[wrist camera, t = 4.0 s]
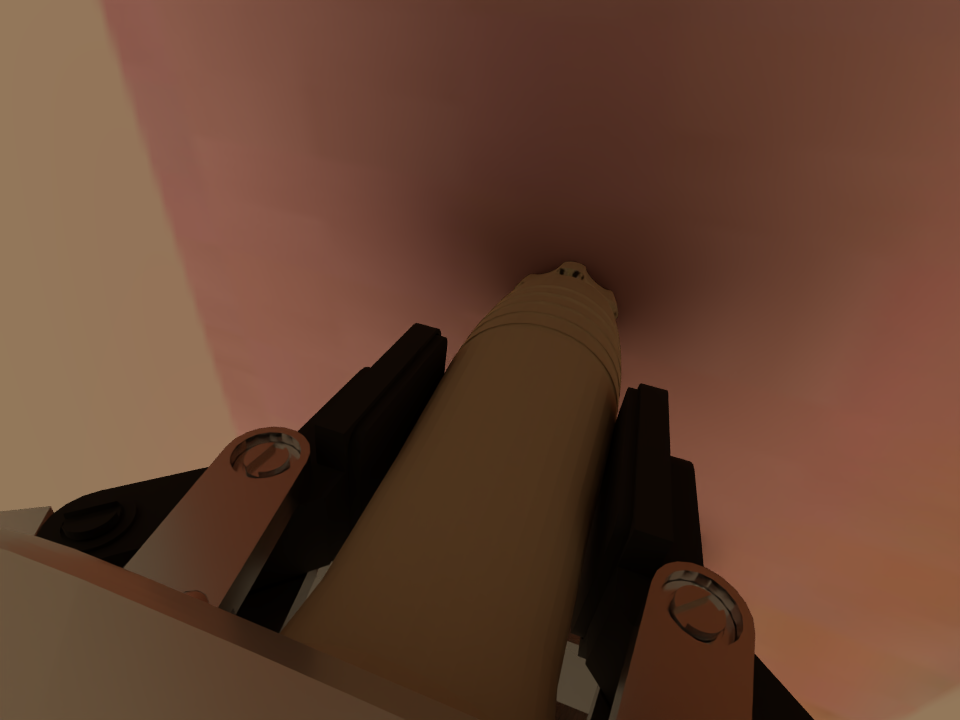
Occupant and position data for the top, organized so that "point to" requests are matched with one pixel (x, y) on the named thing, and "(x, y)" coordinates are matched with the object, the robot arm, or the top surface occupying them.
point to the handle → (485, 512)
